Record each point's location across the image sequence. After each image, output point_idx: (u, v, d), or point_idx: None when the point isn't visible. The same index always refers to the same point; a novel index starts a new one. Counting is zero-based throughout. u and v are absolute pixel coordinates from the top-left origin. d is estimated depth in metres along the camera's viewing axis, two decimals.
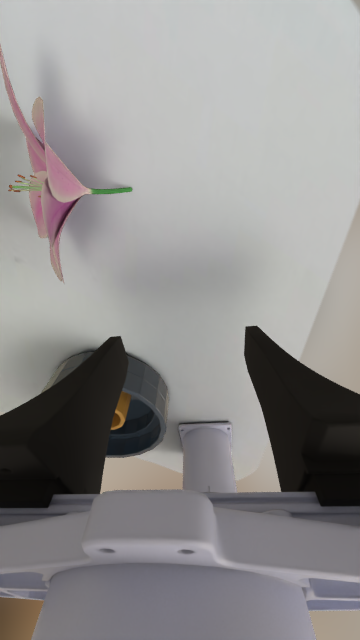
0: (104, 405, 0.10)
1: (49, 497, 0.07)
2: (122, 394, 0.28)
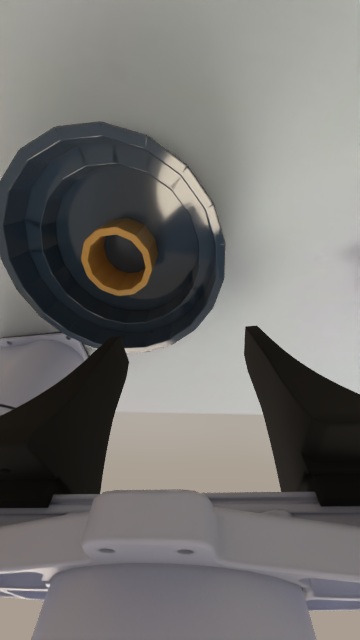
0: (104, 405, 0.10)
1: (49, 497, 0.07)
2: None
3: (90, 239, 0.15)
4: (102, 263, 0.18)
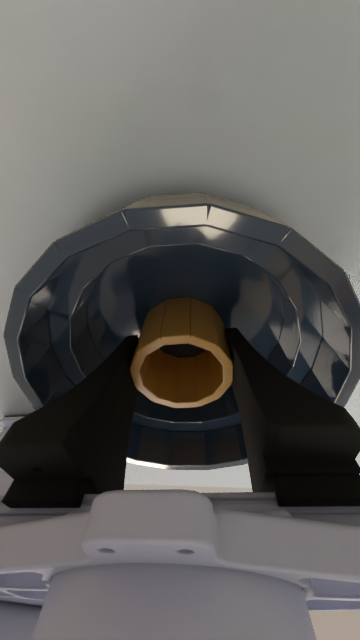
0: (125, 404, 0.10)
1: (81, 497, 0.07)
2: None
3: (148, 348, 0.10)
4: (150, 355, 0.13)
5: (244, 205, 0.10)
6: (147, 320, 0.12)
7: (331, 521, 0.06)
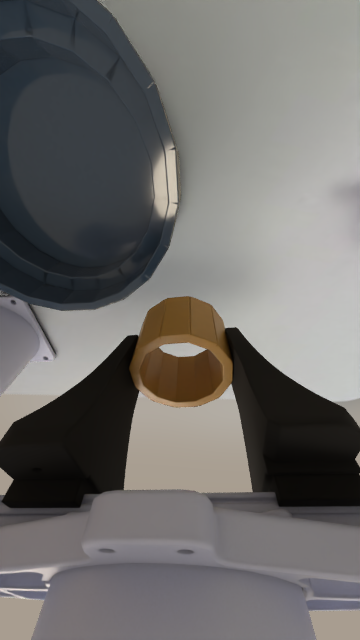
0: (125, 404, 0.10)
1: (81, 497, 0.07)
2: None
3: (147, 347, 0.10)
4: (150, 354, 0.13)
5: None
6: (147, 319, 0.12)
7: (331, 521, 0.06)
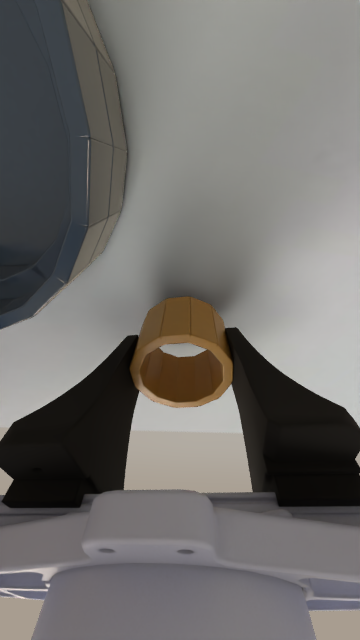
0: (125, 404, 0.10)
1: (81, 497, 0.07)
2: None
3: (148, 347, 0.10)
4: (150, 354, 0.13)
5: None
6: (147, 319, 0.12)
7: (331, 521, 0.06)
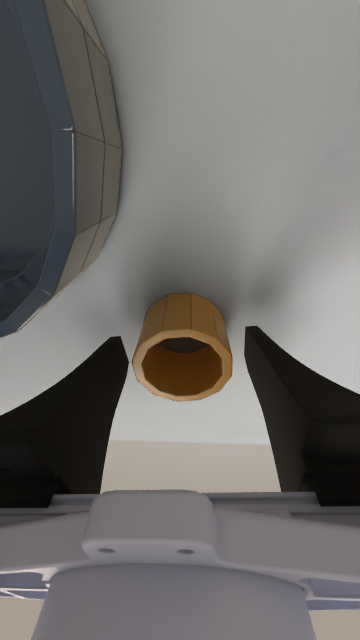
0: (104, 405, 0.10)
1: (49, 497, 0.07)
2: None
3: (150, 341, 0.10)
4: (151, 350, 0.14)
5: None
6: (149, 315, 0.12)
7: (331, 521, 0.06)
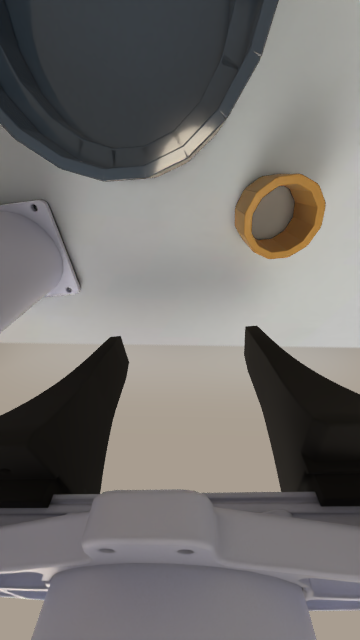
0: (104, 405, 0.10)
1: (49, 497, 0.07)
2: None
3: (265, 189, 0.14)
4: None
5: None
6: (249, 188, 0.16)
7: (331, 521, 0.06)
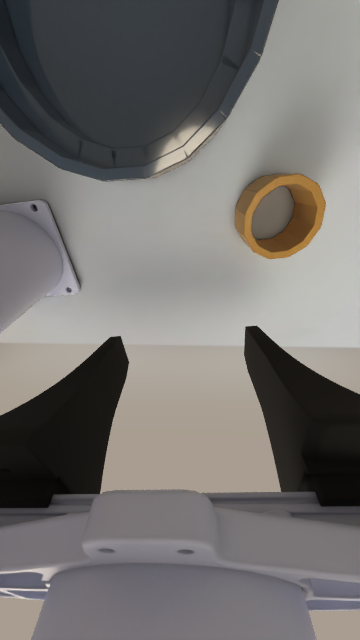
0: (104, 405, 0.10)
1: (49, 497, 0.07)
2: None
3: (265, 189, 0.14)
4: None
5: None
6: (249, 188, 0.16)
7: (331, 521, 0.06)
